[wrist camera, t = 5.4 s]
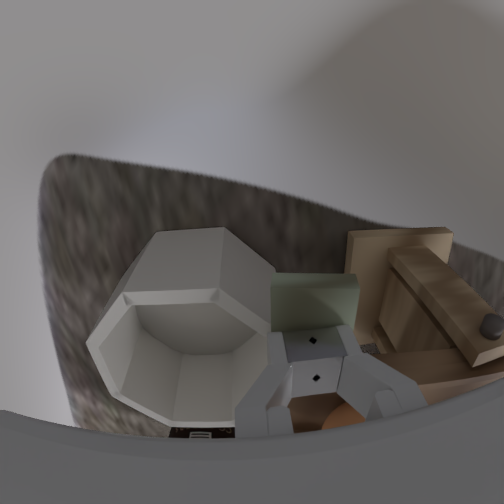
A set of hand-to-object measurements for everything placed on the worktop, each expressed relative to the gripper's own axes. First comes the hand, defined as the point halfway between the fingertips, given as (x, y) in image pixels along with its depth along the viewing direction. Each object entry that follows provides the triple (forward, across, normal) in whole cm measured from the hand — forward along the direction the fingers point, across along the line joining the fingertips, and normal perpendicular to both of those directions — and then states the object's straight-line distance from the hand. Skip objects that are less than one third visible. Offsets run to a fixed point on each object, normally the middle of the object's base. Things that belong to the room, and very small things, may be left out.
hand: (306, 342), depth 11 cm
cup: (+10, +5, +4) cm, 12 cm away
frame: (+10, -9, +4) cm, 14 cm away
